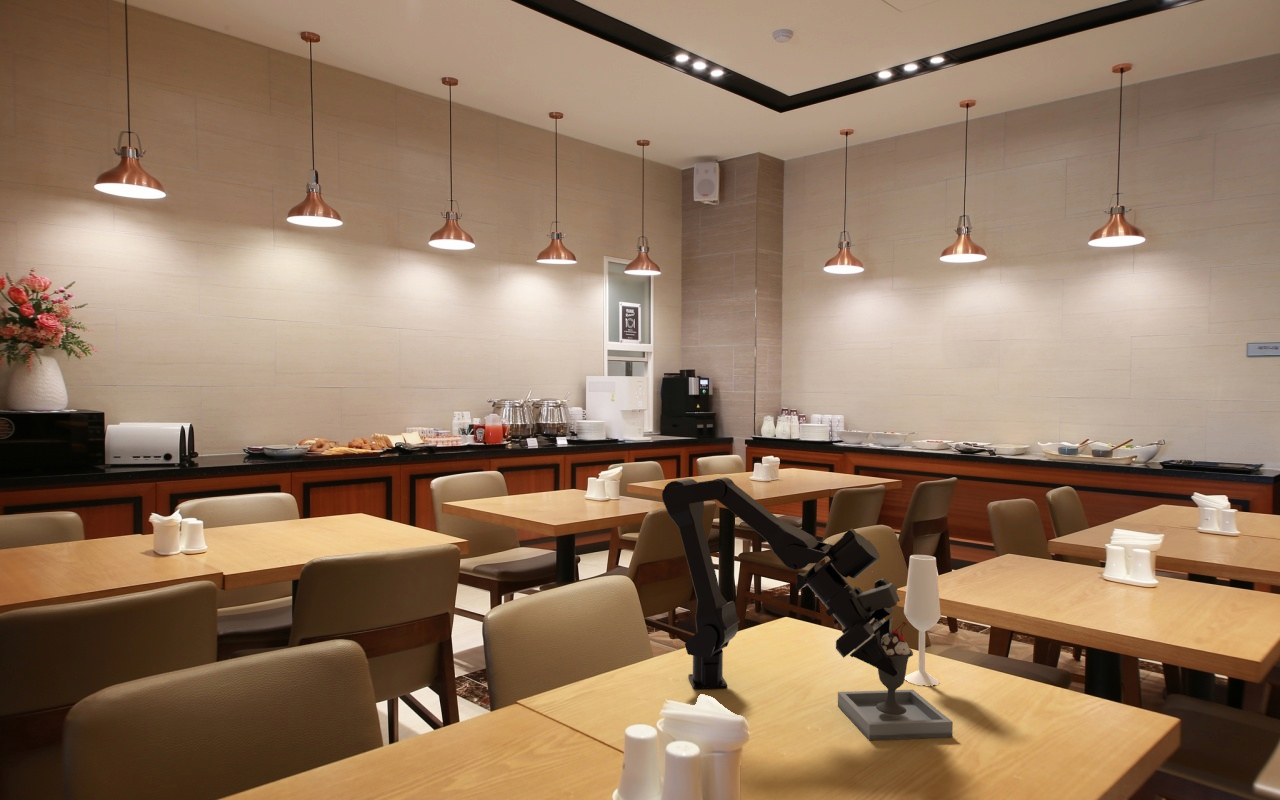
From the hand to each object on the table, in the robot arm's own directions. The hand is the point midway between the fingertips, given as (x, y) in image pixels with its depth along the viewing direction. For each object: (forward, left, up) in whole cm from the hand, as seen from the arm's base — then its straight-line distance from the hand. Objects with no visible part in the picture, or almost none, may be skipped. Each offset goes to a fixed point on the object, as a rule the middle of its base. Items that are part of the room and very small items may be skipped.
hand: (900, 668), depth 131 cm
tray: (-1, -1, -9) cm, 9 cm away
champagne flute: (-19, +13, -9) cm, 25 cm away
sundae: (-1, -1, -7) cm, 7 cm away
